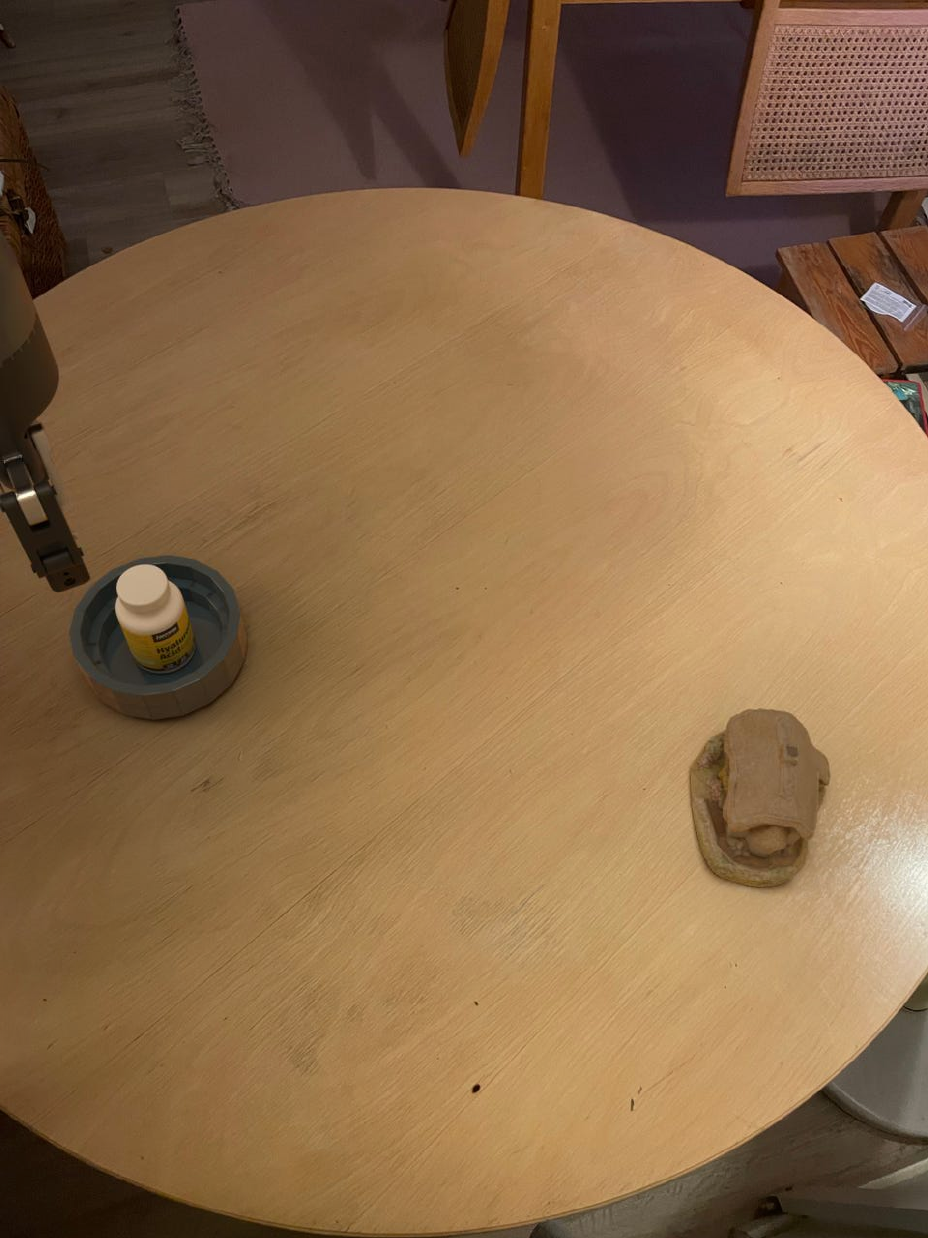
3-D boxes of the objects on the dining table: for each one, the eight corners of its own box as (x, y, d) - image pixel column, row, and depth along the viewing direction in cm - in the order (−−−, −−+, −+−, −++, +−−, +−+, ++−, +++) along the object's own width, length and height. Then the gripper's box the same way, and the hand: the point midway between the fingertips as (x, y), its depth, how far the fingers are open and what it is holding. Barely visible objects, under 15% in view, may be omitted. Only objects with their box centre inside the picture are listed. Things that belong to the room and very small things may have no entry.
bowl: (101, 744, 86) (85, 716, 81) (74, 611, 93) (58, 578, 88) (264, 696, 89) (257, 667, 84) (226, 571, 96) (218, 537, 91)
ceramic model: (691, 719, 89) (720, 659, 81) (822, 742, 88) (865, 683, 80) (682, 876, 81) (713, 828, 73) (825, 902, 81) (873, 856, 72)
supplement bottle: (169, 686, 88) (144, 623, 80) (120, 656, 89) (90, 592, 81) (210, 641, 90) (190, 575, 82) (162, 613, 92) (137, 545, 84)
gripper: (-160, 251, 51) (-39, 470, 65) (-101, 445, 44) (19, 645, 58) (-6, 212, 53) (80, 433, 67) (72, 392, 47) (149, 596, 60)
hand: (51, 531), depth 62 cm, fingers open, 8 cm apart
